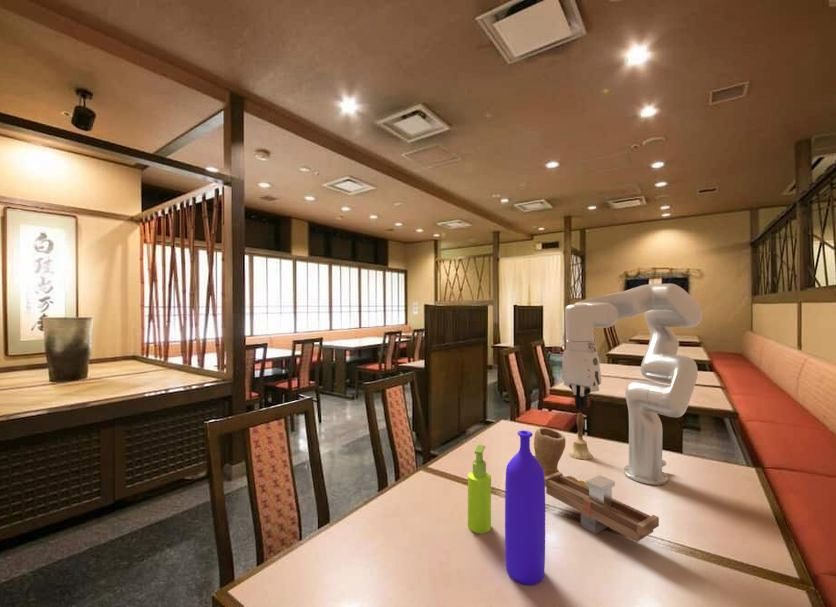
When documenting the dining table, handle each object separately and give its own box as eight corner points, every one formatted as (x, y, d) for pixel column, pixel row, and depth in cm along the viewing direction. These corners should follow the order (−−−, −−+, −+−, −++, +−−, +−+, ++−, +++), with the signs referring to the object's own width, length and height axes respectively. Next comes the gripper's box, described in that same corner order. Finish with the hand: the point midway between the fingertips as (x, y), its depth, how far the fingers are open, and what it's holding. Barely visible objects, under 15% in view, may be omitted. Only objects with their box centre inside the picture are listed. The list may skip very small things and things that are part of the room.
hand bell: (564, 451, 145) (564, 410, 145) (584, 450, 146) (584, 409, 146) (575, 460, 137) (575, 416, 137) (597, 459, 138) (597, 416, 138)
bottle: (499, 560, 84) (500, 426, 84) (535, 557, 85) (536, 425, 85) (512, 588, 76) (512, 440, 76) (551, 585, 76) (552, 438, 76)
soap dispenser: (492, 520, 99) (492, 444, 99) (489, 535, 93) (489, 454, 93) (471, 515, 101) (471, 442, 101) (465, 530, 95) (465, 451, 95)
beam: (559, 498, 110) (559, 471, 110) (659, 551, 87) (659, 517, 87) (542, 505, 106) (542, 477, 106) (642, 563, 83) (642, 527, 83)
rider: (599, 498, 99) (600, 475, 99) (614, 505, 95) (614, 481, 95) (585, 505, 95) (586, 480, 95) (600, 512, 92) (600, 487, 92)
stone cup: (572, 483, 119) (572, 436, 119) (536, 485, 118) (536, 438, 118) (550, 463, 135) (550, 421, 134) (518, 464, 133) (518, 422, 133)
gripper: (611, 347, 106) (613, 412, 106) (565, 342, 118) (567, 400, 119) (596, 350, 101) (597, 417, 102) (550, 345, 114) (551, 405, 114)
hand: (581, 408), depth 110 cm, fingers closed
